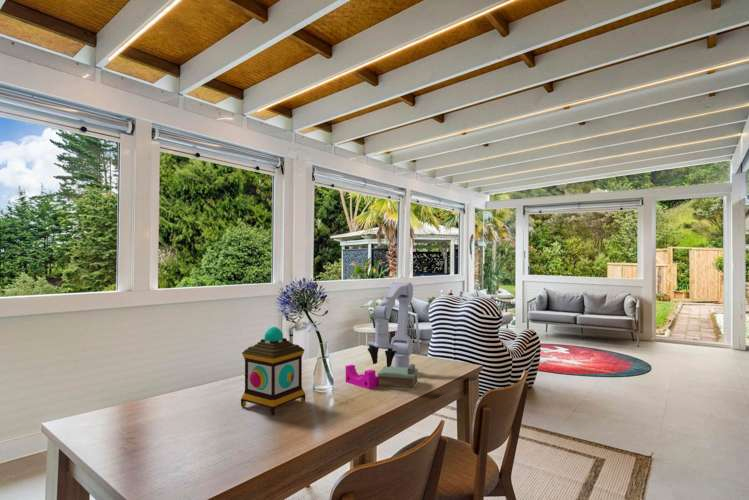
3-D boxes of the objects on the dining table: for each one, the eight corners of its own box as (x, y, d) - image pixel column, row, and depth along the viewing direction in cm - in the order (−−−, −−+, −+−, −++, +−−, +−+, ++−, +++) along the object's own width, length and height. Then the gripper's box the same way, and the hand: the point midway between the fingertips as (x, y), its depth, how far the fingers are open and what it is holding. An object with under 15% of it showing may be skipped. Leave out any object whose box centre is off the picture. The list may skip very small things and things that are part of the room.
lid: (384, 368, 196) (384, 360, 196) (418, 370, 192) (418, 363, 192) (377, 375, 184) (377, 367, 184) (413, 378, 180) (413, 370, 180)
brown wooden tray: (385, 379, 196) (385, 368, 196) (417, 382, 192) (417, 370, 192) (378, 387, 184) (378, 375, 184) (412, 390, 180) (412, 378, 180)
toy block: (379, 386, 186) (379, 369, 186) (369, 389, 181) (369, 372, 182) (355, 379, 196) (355, 363, 196) (345, 382, 192) (345, 365, 192)
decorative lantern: (272, 419, 149) (272, 333, 149) (235, 408, 160) (235, 327, 160) (310, 402, 166) (310, 325, 166) (274, 393, 176) (274, 320, 177)
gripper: (363, 332, 185) (363, 364, 185) (389, 337, 176) (390, 369, 176) (373, 330, 191) (373, 360, 191) (399, 334, 182) (399, 366, 182)
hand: (382, 365), depth 184 cm, fingers open, 7 cm apart
